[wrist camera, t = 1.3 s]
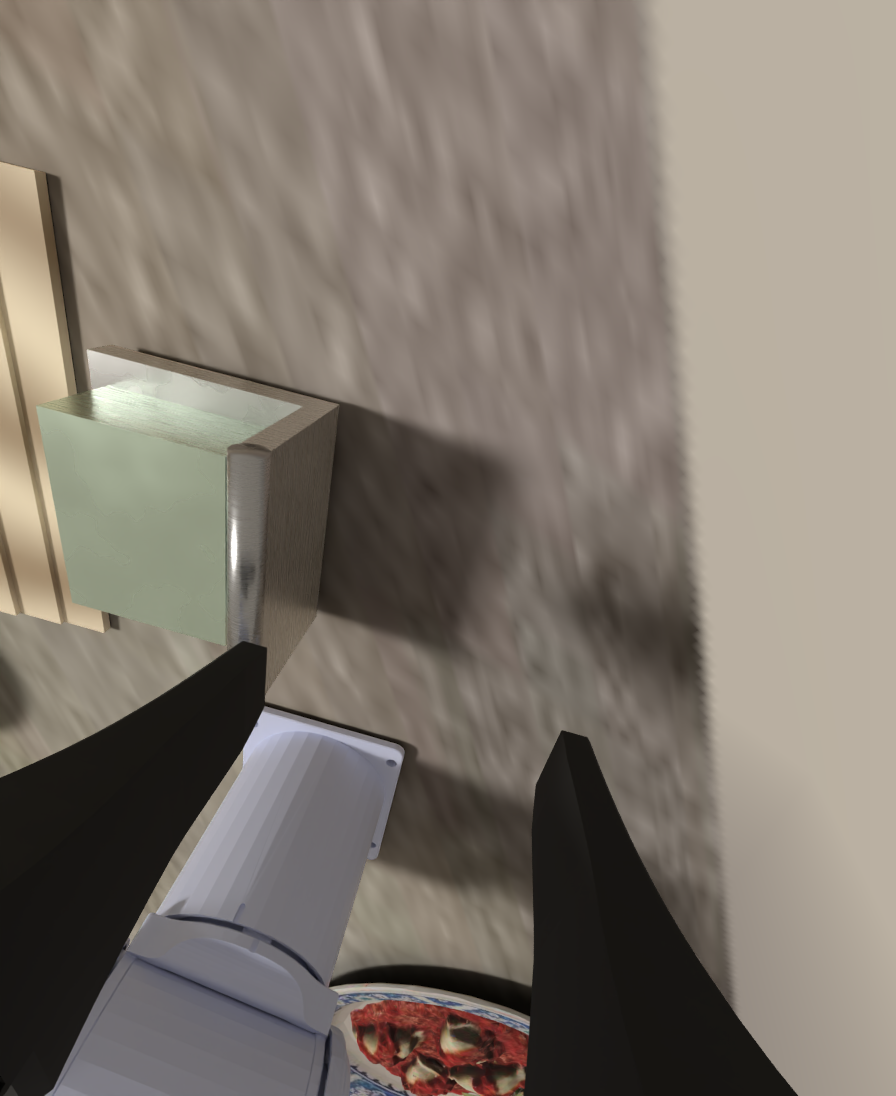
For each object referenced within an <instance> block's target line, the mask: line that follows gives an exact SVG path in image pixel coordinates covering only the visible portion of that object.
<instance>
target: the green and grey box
mask: <svg viewBox="0 0 896 1096" xmlns="http://www.w3.org/2000/svg"><path fill="white" fill-rule="evenodd" d="M87 355H88V362H89V370H90V378H91V386H92V390H90V391H86V392H82V393H79V394H75V395H72V396H68V397H64V398H61V399H57V400H54V401H50V402H46V403H43V404H39V405H36V409H37V415H38V420H39V425H40V431H41V436H42V442H43V447H44V452H45V458H46V463H47V469H48V474H49V479H50V485H51V490H52V496H53V501H54V506H55V512H56V517H57V523H58V528H59V534H60V539H61V544H62V550H63V555H64V561H65V566H66V571H67V577H68V582H69V588H70V593H71V598H72V603H75V604H79V605H82V606H86V607H89V608H93V609H96V610H100V611H103V612H107V613H110V614H114V615H117V616H121V617H125V618H128V619H132V620H135V621H139V622H142V623H146V624H149V625H153V626H156V627H160V628H163V629H167V630H170V631H174V632H178V633H181V634H185V635H188V636H192V637H195V638H199V639H202V640H206V641H209V642H213V643H216V644H220V645H224V646H226V645H227V651H228V650H229V649H231V648H232V647H234V646H235V645H237V644H238V643H240V642H242V641H246V642H249V643H253V644H256V645H260V646H263V647H267V664H266V684H265V695H266V693H267V691H268V690H269V688H270V687H271V685H272V684H273V682H274V681H275V679H276V678H277V676H278V674H279V673H280V671H281V670H282V668H283V667H284V665H285V664H286V662H287V661H288V659H289V658H290V656H291V654H292V653H293V651H294V650H295V648H296V647H297V645H298V644H299V642H300V641H301V639H302V637H303V636H304V634H305V633H306V631H307V630H308V628H309V627H310V625H311V624H312V622H313V621H314V619H315V617H316V614H317V605H318V596H319V586H320V577H321V568H322V559H323V550H324V541H325V532H326V522H327V513H328V504H329V495H330V486H331V477H332V468H333V458H334V449H335V440H336V431H337V422H338V413H339V404H335V403H331V402H327V401H324V400H320V399H316V398H312V397H308V396H305V395H301V394H297V393H293V392H289V391H286V390H282V389H278V388H274V387H270V386H267V385H263V384H259V383H255V382H251V381H248V380H244V379H240V378H236V377H232V376H229V375H225V374H221V373H217V372H213V371H210V370H206V369H202V368H198V367H194V366H191V365H187V364H183V363H179V362H175V361H172V360H168V359H164V358H160V357H156V356H153V355H149V354H145V353H141V352H137V351H134V350H130V349H126V348H122V347H118V346H115V345H108V346H102V347H97V348H91V349H87Z"/></svg>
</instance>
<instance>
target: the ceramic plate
mask: <svg viewBox="0 0 896 1096" xmlns="http://www.w3.org/2000/svg"><path fill="white" fill-rule="evenodd" d="M329 989H331V990H333V991H335V992H337V993H338V994H339V998H338V1001H337V1005H336V1008H335V1012H334V1015H333V1019H332V1022H331V1025H333V1026H335V1027H338V1028H339V1029H340V1030H341V1031H342V1032H343V1034H344V1037H345V1041H346V1051H347V1054H348V1058H349V1062H350V1074H351V1076H350V1093H349V1096H524V1087H525V1076H526V1065H527V1052H528V1038H529V1025H530V1016H527V1015H525V1014H523V1013H520V1012H518V1011H515V1010H513V1009H511V1008H508V1007H505V1006H501V1005H498V1004H495V1003H492V1002H489V1001H485V1000H482V999H479V998H476V997H473V996H468V995H464V994H459V993H455V992H450V991H445V990H441V989H435V988H429V987H423V986H416V985H405V984H392V983H360V984H345V985H339V986H334V987H329Z"/></svg>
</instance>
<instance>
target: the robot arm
mask: <svg viewBox="0 0 896 1096" xmlns="http://www.w3.org/2000/svg"><path fill="white" fill-rule="evenodd" d="M266 664H267V647H263V646H260V645H256V644H253V643H249V642H246V641H242V642H240V643H238V644H237V645H235V646H234V647H232V648H231V649H229V650H228V651H227V652H225V653H224V654H222V655H221V656H219V657H218V658H216V659H215V660H214V661H212V662H211V663H209V664H208V665H206V666H205V667H203V668H202V669H200V670H199V671H197V672H196V673H195V674H193V675H192V676H190V677H189V678H187V679H185V680H184V681H182V682H181V683H179V684H178V685H176V686H175V687H173V688H172V689H170V690H168V691H167V692H165V693H164V694H162V695H161V696H159V697H157V698H156V699H154V700H153V701H151V702H149V703H148V704H146V705H144V706H142V707H141V708H139V709H137V710H136V711H134V712H132V713H131V714H129V715H127V716H126V717H124V718H122V719H120V720H119V721H117V722H115V723H113V724H112V725H110V726H108V727H106V728H104V729H102V730H101V731H99V732H97V733H95V734H93V735H91V736H89V737H87V738H85V739H83V740H81V741H79V742H77V743H75V744H73V745H71V746H69V747H67V748H65V749H63V750H61V751H59V752H57V753H55V754H53V755H50V756H48V757H46V758H44V759H42V760H40V761H37V762H35V763H33V764H31V765H29V766H26V767H24V768H22V769H20V770H17V771H15V772H13V773H10V774H8V775H6V776H3V777H1V778H0V1096H349V1093H350V1076H351V1074H350V1062H349V1058H348V1054H347V1051H346V1041H345V1037H344V1034H343V1032H342V1031H341V1030H340V1029H339V1028H338V1027H335V1026H333V1025H331V1022H332V1019H333V1015H334V1012H335V1008H336V1005H337V1001H338V998H339V994H338V993H337V992H335V991H333V990H331V989H329V988H328V987H329V983H330V980H331V977H332V973H333V970H334V967H335V963H336V960H337V957H338V953H339V950H340V947H341V943H342V940H343V937H344V933H345V930H346V927H347V923H348V920H349V917H350V913H351V910H352V907H353V903H354V900H355V896H356V893H357V890H358V886H359V883H360V880H361V876H362V873H363V870H364V866H365V863H366V860H367V859H370V860H373V859H376V858H377V857H378V854H379V850H380V846H381V842H382V839H383V835H384V831H385V827H386V823H387V820H388V816H389V812H390V808H391V804H392V800H393V797H394V793H395V789H396V785H397V781H398V777H399V774H400V770H401V766H402V762H403V758H404V754H405V751H404V749H403V747H401V746H400V745H398V744H396V743H392V742H389V741H385V740H382V739H378V738H375V737H371V736H368V735H364V734H361V733H357V732H354V731H350V730H347V729H343V728H340V727H336V726H333V725H329V724H326V723H322V722H319V721H315V720H312V719H308V718H305V717H301V716H298V715H294V714H291V713H287V712H284V711H280V710H277V709H273V708H270V707H266V706H264V704H265V684H266ZM242 749H243V769H242V770H241V772H240V774H239V775H238V777H237V779H236V780H235V782H234V784H233V785H232V787H231V789H230V791H229V792H228V794H227V796H226V797H225V799H224V801H223V802H222V804H221V806H220V807H219V809H218V811H217V812H216V814H215V816H214V817H213V819H212V821H211V822H210V824H209V826H208V827H207V829H206V831H205V832H204V834H203V836H202V837H201V839H200V841H199V842H198V844H197V846H196V847H195V849H194V851H193V852H192V854H191V856H190V857H189V859H188V861H187V862H186V864H185V866H184V867H183V869H182V871H181V872H180V874H179V876H178V877H177V879H176V881H175V882H174V884H173V886H172V887H171V889H170V891H169V892H168V894H167V896H166V897H165V899H164V901H163V902H162V904H161V906H160V907H159V909H158V911H157V912H156V913H149V914H148V916H147V918H146V919H145V921H144V922H143V924H142V926H141V927H140V929H139V931H138V932H137V934H136V936H135V937H134V939H133V940H132V942H131V944H130V945H129V941H130V939H129V938H128V937H129V935H130V933H131V931H132V929H133V928H134V926H135V924H136V922H137V920H138V918H139V916H140V914H141V913H142V911H143V909H144V907H145V905H146V903H147V901H148V899H149V897H150V896H151V894H152V892H153V890H154V888H155V887H156V885H157V883H158V881H159V879H160V878H161V876H162V874H163V872H164V870H165V868H166V867H167V865H168V863H169V861H170V859H171V858H172V856H173V854H174V852H175V851H176V849H177V848H178V846H179V844H180V843H181V841H182V839H183V838H184V836H185V835H186V833H187V832H188V830H189V829H190V827H191V826H192V824H193V823H194V821H195V820H196V818H197V817H198V815H199V814H200V812H201V811H202V809H203V808H204V806H205V805H206V803H207V802H208V800H209V799H210V797H211V796H212V794H213V793H214V791H215V790H216V788H217V787H218V785H219V784H220V782H221V781H222V779H223V778H224V777H225V775H226V773H227V772H228V770H229V769H230V767H231V766H232V764H233V763H234V761H235V760H236V758H237V757H238V755H239V754H240V752H241V751H242ZM532 869H533V911H534V965H533V980H532V996H531V1012H530V1025H529V1038H528V1052H527V1065H526V1076H525V1087H524V1096H798V1095H797V1094H796V1093H795V1091H794V1090H793V1089H792V1088H791V1087H790V1085H789V1084H788V1083H787V1082H786V1080H785V1079H784V1078H783V1077H782V1075H781V1074H780V1073H779V1072H778V1071H777V1069H776V1068H775V1066H774V1065H773V1064H772V1063H771V1061H770V1060H769V1059H768V1057H767V1056H766V1055H765V1053H764V1052H763V1051H762V1049H761V1048H760V1047H759V1045H758V1044H757V1043H756V1041H755V1040H754V1039H753V1037H752V1036H751V1035H750V1033H749V1032H748V1030H747V1029H746V1028H745V1026H744V1025H743V1024H742V1022H741V1021H740V1020H739V1018H738V1017H737V1015H736V1014H735V1013H734V1011H733V1010H732V1008H731V1007H730V1005H729V1004H728V1002H727V1001H726V999H725V998H724V996H723V995H722V994H721V992H720V991H719V989H718V988H717V986H716V985H715V983H714V982H713V980H712V979H711V977H710V976H709V975H708V973H707V972H706V970H705V969H704V967H703V966H702V964H701V963H700V961H699V960H698V958H697V957H696V955H695V953H694V952H693V950H692V949H691V947H690V945H689V944H688V942H687V941H686V939H685V937H684V936H683V934H682V933H681V931H680V929H679V928H678V926H677V924H676V923H675V921H674V919H673V917H672V916H671V914H670V912H669V911H668V909H667V907H666V905H665V904H664V902H663V900H662V898H661V897H660V895H659V893H658V891H657V889H656V887H655V886H654V884H653V882H652V880H651V878H650V876H649V874H648V872H647V870H646V868H645V866H644V865H643V863H642V861H641V859H640V857H639V855H638V853H637V851H636V849H635V847H634V844H633V842H632V840H631V838H630V836H629V834H628V832H627V830H626V827H625V825H624V823H623V821H622V819H621V816H620V814H619V812H618V810H617V808H616V805H615V803H614V801H613V798H612V796H611V794H610V791H609V789H608V786H607V784H606V782H605V779H604V777H603V774H602V772H601V769H600V767H599V764H598V762H597V759H596V756H595V754H594V751H593V749H592V746H591V743H590V741H589V740H588V738H587V737H584V736H581V735H577V734H573V733H570V732H566V731H563V730H562V731H561V733H560V735H559V737H558V739H557V741H556V743H555V745H554V748H553V750H552V752H551V754H550V756H549V758H548V760H547V762H546V764H545V767H544V769H543V771H542V773H541V775H540V777H539V779H538V781H537V784H536V789H535V799H534V809H533V822H532ZM128 945H129V947H128ZM127 947H128V949H127ZM126 949H127V950H126Z"/></svg>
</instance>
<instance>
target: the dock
mask: <svg viewBox="0 0 896 1096" xmlns="http://www.w3.org/2000/svg"><path fill="white" fill-rule="evenodd" d="M75 394H77V390H76V383H75V376H74V369H73V362H72V355H71V348H70V341H69V334H68V327H67V320H66V313H65V307H64V300H63V293H62V286H61V279H60V272H59V265H58V258H57V251H56V244H55V237H54V230H53V223H52V216H51V209H50V202H49V195H48V188H47V181H46V174H45V172H41V171H37V170H33V169H29V168H25V167H21V166H17V165H13V164H9V163H5V162H1V161H0V611H2V612H5V613H9V614H12V615H18V614H19V613H24V614H27V615H31V616H34V617H38V618H41V619H45V620H48V621H52V622H55V623H59V624H62V623H63V622H68V623H71V624H75V625H78V626H82V627H85V628H89V629H92V630H96V631H99V632H103V633H105V632H106V631H107V630H109V629H110V628H111V627H110V620H109V613H107V612H103V611H100V610H96V609H93V608H89V607H86V606H82V605H79V604H75V603H72V598H71V593H70V588H69V582H68V577H67V571H66V566H65V561H64V555H63V550H62V544H61V539H60V534H59V528H58V523H57V517H56V512H55V506H54V501H53V496H52V490H51V485H50V479H49V474H48V469H47V463H46V458H45V452H44V447H43V442H42V436H41V431H40V425H39V420H38V415H37V409H36V405H39V404H43V403H46V402H50V401H54V400H57V399H61V398H64V397H68V396H72V395H75Z"/></svg>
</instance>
